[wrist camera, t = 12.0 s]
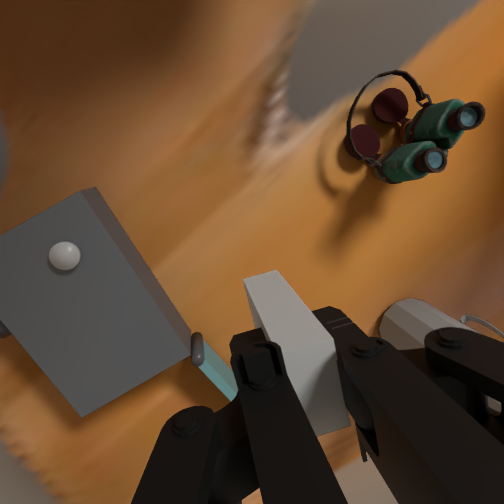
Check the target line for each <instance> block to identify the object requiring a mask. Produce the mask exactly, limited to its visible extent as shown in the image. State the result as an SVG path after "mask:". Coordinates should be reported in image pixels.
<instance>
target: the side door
mask: <svg viewBox="0 0 504 504" xmlns="http://www.w3.org/2000/svg"><path fill="white" fill-rule="evenodd" d="M191 348H192V364H193V365H194V366H198V367H199V368H200V369H201V370H202V372H203V373H204V374H205V375H206V376H207V377H208V378H209V379H210V380H211V381H212V382H213V383H214V384H215V385H216V386H217V387H218V388H219V389H220V391H221V392H222V393H223V394H224V395H225V396H226V397H227V398H228V399H229V400H230V401H232V400H233V399H234V398H235V396H236V395H237V392H238V387H237V384H236V380H235V377H234V373H233V371H232V370H231V369H230V368H229V367H228V366H227V365H226V363H225V362H224V361H223V360H222V359H221V358H220V357H219V356H218V355H217V354H216V353H215V351H214V350H213V349H212V348H211V347H210V346H209V345H208V344H207V343H206V342H205V340H204V339H203V340H202V334H201V333H199V332H195V333H193V334H192V337H191Z"/></svg>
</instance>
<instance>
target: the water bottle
mask: <svg viewBox="0 0 504 504" xmlns="http://www.w3.org/2000/svg"><path fill="white" fill-rule="evenodd" d="M460 319H461V320H460V322H461V323H460V322H459V321H457V320H455V319H453V318H452V317H450V316H448V315H447V314H445V313H443V312H441V311H440V310H438V309H436V308H435V307H433V306H431V305H430V304H428V303H426V302H424V301H423V300H418V299H412V298H407V299H404V300H402V301H399V302H396V303H394V304H393V305H392V306H391V307H390V308H389V309H388V310H387V311H386V312H385V313H384V315H383V318H382V321H381V324H380V327H379V330H380V335H381V339H384V340H386V341H388V342H389V343H391V344H392V345H393V346H394V347H395V348H396V349H397V350H407V349H417V348H425V346H424V338H425V336H426V335H427V334H428V333H429V332H431V331H433V330H436V329H439V328H443V327H445V328H446V327H457V328H464V329H468V330H471V331H474V332H477V331H475V330H474V329H472V328H470V327H468V326H466V325H465V323H466V322H467V321H468V320H471V321H475V322H478V323H480V324H482V325H484V326H486V327H489V328H490V329H491V330H493V331H494V332H496V333H497V334H498V335H500V336H501V337H503V338H504V333H503V332H502V331H500V330H499V329H497V328H496V327H495V326H493V325H492V324H490V323H489V322H487V321H485V320H483V319H481V318H478V317H476V316H473V315H469V314H465V315H464V316H462V317H460ZM477 333H479V332H477ZM479 334H481V333H479ZM482 335H483V334H482ZM488 406H489V407H490V408H492V409H494V410H496V411H499V412H501V403H500V402H498V401H496V400H494V399H493V398H491V397H489V396H488Z"/></svg>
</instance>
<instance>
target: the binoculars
mask: <svg viewBox="0 0 504 504" xmlns="http://www.w3.org/2000/svg"><path fill="white" fill-rule="evenodd" d="M390 74H393V75H398V76H402V77H403V78H404V79H405V80H406V81H407V82H408V83H409V84H410V86H411V87H412V89H413V90H414V92H415V95H416V102H417V103H418V104H419V105H420V106H421V107H423V108H422V109H421V110H419V111H418V112H417V113H416V115H415V117H414V118H413V119H407V118H405V117H406V115H407V112H408V101H407V99H406V96H405V95H404V93H403V92H402V91H400V90H399V89H396V88H388V89H385V90H383V91H382V92H380V93H379V94H378V95H377V96H376V97H375V99H374V100H373V103H372V112H373V115H374V117H375V118H376V119H377V120H379V121H380V122H383V123H396V122H399V123H400V124H402V125H401V127H400V137H401V140H402V142H403V143H404V144H400V145H399V146H398V147H395V148H393V149H391V150H390V151H389V152H388V153H387V154H377V152H378V151H379V149H380V140H379V136H378V134H377V132H376V131H375V130H374V129H373V128H372V127H371V126H369V125H365V124H360V125H357V126H355V127H354V128H353V129H351V120H352V116H353V113H354V109H355V106H356V104H357V102H358V100H359V98H360V96H361V95H362V93H363V92H364V90H365V89H366V87H367V86H368V85H369V84H370V83H371V82H372V81H373V80H374V79H376V78H378V77H382V76H386V75H390ZM426 98H428V100H429V102H426V103H424V104H422V103H421V102H420V101H421V100H424V99H426ZM484 117H485V109H484V107H483V105H482V104H480V103H478V102H469V103H467V104H465V103H464V102H463V101H461V100H460V99H451V100H448V101H444V102H440V103H437V104H432V100H431V98H430V96H429V95H428V94H425V93H424V92H423V91H422V88H421V86H419V85H418V84H417V82H416V80H415V79H414V78H413V77H412V76H411V75H410V74H409V73H408V72H405V71H400V70H393V71H389V72H385V73H381V74H379V75H377V76H376V77H374V78H373V79H372V80H371V81H370V82H369V83H367V84H366V85H365V86H364V87H363V88H362V90H361V91H360V93H359V94H358V96H357V97H356V99H355V101H354V103H353V105H352V107H351V109H350V112H349V116H348V119H347V135H346V137H345V142H344V144H345V148H346V150H347V152H348V153H349V154H350V155H351V156H353V157H355V158H358V159H357V160H362V161H365V162H366V163H367V164H368V165H370V166H372V167H373V171H374V175H375V176H376V177H377V178H378V179H379V180H383V181H384V182H386V183H390V184H398V183H401V182H404V181H410V180H417V179H420V178H423V177H424V176H426V175H427V174H428V173H437V172H441V171H443V170H444V169H445V167H446V165H447V156H448V155H447V154H448V149H450V148H452V147H453V146H454V145H455V143H456V142H457V141H458V140H459V138H460V137H461V135H462V134H463V132H464V131H465V130H470V129H474V128H476V127H478V126H479V125H480V124H481V123H482V121H483V120H484ZM370 157H371V158H370Z"/></svg>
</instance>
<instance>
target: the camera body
mask: <svg viewBox="0 0 504 504" xmlns="http://www.w3.org/2000/svg"><path fill="white" fill-rule="evenodd" d="M11 334H13V336H14V337H15V338H16V339H17V341H18V342H19V343H20V344H21V345H22V347H23V348H24V349H25V350H26V351H27V353H28V354H29V355H30V356H31V357H32V359H33V360H34V361H35V362H36V363H37V365H38V366H39V367H40V368H41V369H42V371H43V372H44V373H45V374H46V376H47V377H48V378H49V379H50V380H51V382H52V383H53V384H54V385H55V386H56V388H57V389H58V390H59V391H60V392H61V394H62V395H63V396H64V397H65V398H66V400H67V401H68V402H69V403H70V404H71V406H72V407H73V408H74V409H75V410H76V412H77V413H78V414H79V415H80V417H81V418H83V417H84V416H86V415H88V414H90V413H91V412H93V411H95V410H96V409H98V408H100V407H102V406H103V405H105V404H107V403H109V402H110V401H112V400H114V399H115V398H117V397H119V396H121V395H122V394H124V393H126V392H128V391H129V390H131V389H133V388H135V387H136V386H138V385H140V384H141V383H143V382H145V381H147V380H148V379H150V378H152V377H154V376H155V375H157V374H159V373H160V372H162V371H164V370H166V369H167V368H169V367H171V366H173V365H174V364H176V363H178V362H179V361H181V360H183V359H185V358H186V357H188V356H190V355H191V331H190V329H189V328H188V326H187V324H186V323H185V321H184V320H183V318H182V317H181V315H180V314H179V312H178V311H177V309H176V308H175V306H174V305H173V303H172V302H171V300H170V299H169V297H168V296H167V294H166V293H165V291H164V290H163V288H162V287H161V285H160V284H159V282H158V281H157V279H156V278H155V276H154V275H153V273H152V271H151V270H150V268H149V267H148V265H147V264H146V262H145V261H144V259H143V258H142V256H141V255H140V253H139V252H138V250H137V249H136V247H135V246H134V244H133V243H132V241H131V240H130V238H129V237H128V235H127V234H126V232H125V231H124V229H123V228H122V226H121V225H120V223H119V222H118V220H117V218H116V217H115V215H114V214H113V212H112V211H111V209H110V208H109V206H108V205H107V203H106V202H105V200H104V199H103V197H102V196H101V194H100V193H99V191H98V190H97V188H96V187H93V188H89V189H85V190H81V191H79V192H77V193H75V194H73V195H72V196H70V197H68V198H66V199H64V200H63V201H61V202H59V203H57V204H55V205H54V206H52V207H50V208H48V209H47V210H45V211H43V212H41V213H39V214H38V215H36V216H34V217H32V218H30V219H29V220H27V221H25V222H23V223H22V224H20V225H18V226H16V227H14V228H13V229H11V230H9V231H7V232H5V233H4V234H2V235H0V338H5V337H7V336H9V335H11Z"/></svg>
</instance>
